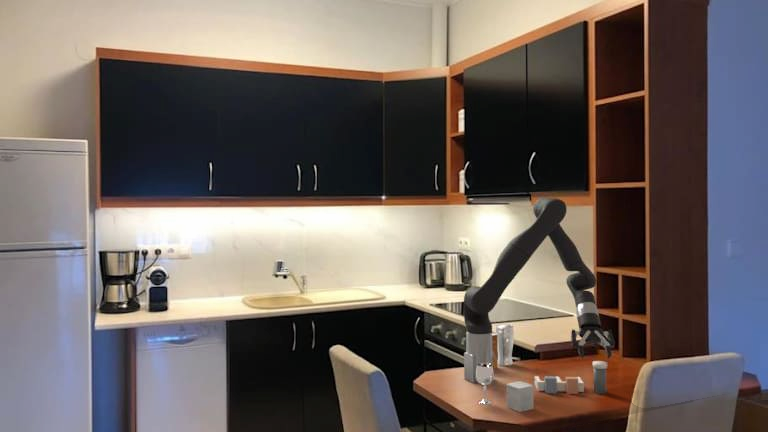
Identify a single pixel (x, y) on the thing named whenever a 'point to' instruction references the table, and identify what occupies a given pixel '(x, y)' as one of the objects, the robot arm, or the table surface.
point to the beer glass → (505, 344)
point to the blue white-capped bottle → (599, 377)
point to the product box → (520, 396)
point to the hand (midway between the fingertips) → (595, 357)
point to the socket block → (559, 384)
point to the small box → (494, 350)
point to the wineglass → (484, 378)
